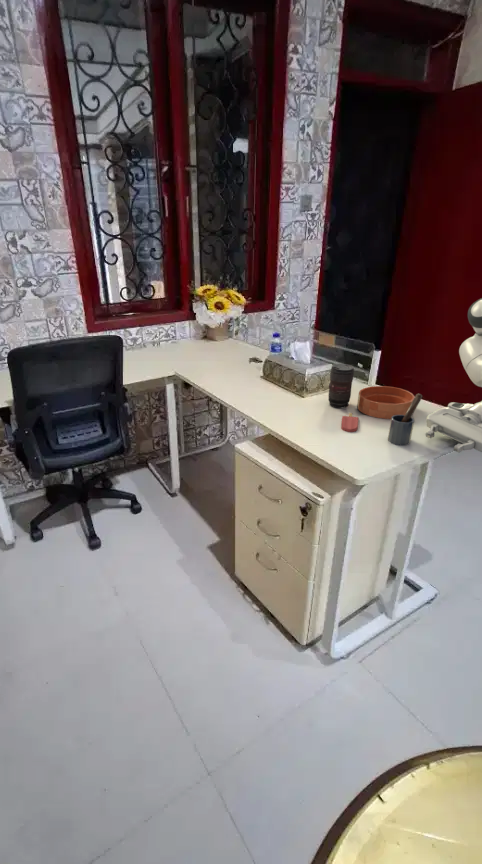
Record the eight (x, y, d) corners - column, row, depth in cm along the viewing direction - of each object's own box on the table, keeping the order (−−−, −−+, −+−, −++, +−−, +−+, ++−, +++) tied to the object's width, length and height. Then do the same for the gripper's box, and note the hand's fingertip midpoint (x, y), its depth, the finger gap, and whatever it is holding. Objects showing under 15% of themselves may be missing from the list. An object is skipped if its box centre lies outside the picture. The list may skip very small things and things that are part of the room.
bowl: (393, 398, 159) (395, 384, 157) (422, 417, 143) (425, 401, 140) (348, 403, 157) (350, 388, 155) (373, 422, 141) (375, 406, 138)
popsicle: (359, 412, 146) (357, 430, 133) (358, 416, 147) (357, 434, 134) (343, 410, 148) (340, 428, 135) (342, 414, 148) (340, 432, 136)
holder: (401, 436, 131) (406, 413, 127) (414, 445, 125) (418, 421, 122) (383, 439, 130) (387, 415, 127) (394, 448, 125) (399, 424, 121)
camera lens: (337, 410, 152) (341, 371, 145) (323, 403, 159) (326, 365, 152) (354, 406, 155) (359, 367, 148) (339, 399, 162) (343, 362, 155)
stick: (393, 441, 128) (420, 394, 124) (397, 443, 127) (424, 395, 122) (389, 439, 127) (416, 392, 123) (393, 442, 126) (420, 393, 122)
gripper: (511, 443, 116) (474, 467, 113) (446, 416, 133) (413, 436, 130) (513, 425, 112) (475, 450, 110) (446, 400, 129) (412, 420, 127)
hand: (441, 442), depth 120 cm, fingers open, 8 cm apart
